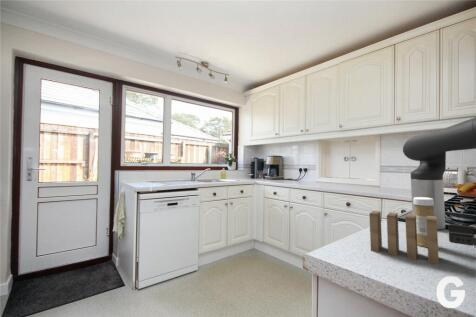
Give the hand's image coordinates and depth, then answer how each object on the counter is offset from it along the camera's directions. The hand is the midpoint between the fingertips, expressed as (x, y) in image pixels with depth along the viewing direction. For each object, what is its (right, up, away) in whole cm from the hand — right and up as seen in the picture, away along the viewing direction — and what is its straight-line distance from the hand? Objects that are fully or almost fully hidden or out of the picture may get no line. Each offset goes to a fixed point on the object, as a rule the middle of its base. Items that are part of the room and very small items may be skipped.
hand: (448, 232), depth 54 cm
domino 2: (-5, -7, +5) cm, 10 cm away
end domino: (-11, -8, +10) cm, 17 cm away
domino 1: (-8, -7, +7) cm, 13 cm away
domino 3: (-2, -7, +2) cm, 8 cm away
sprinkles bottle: (+4, -8, +11) cm, 14 cm away
